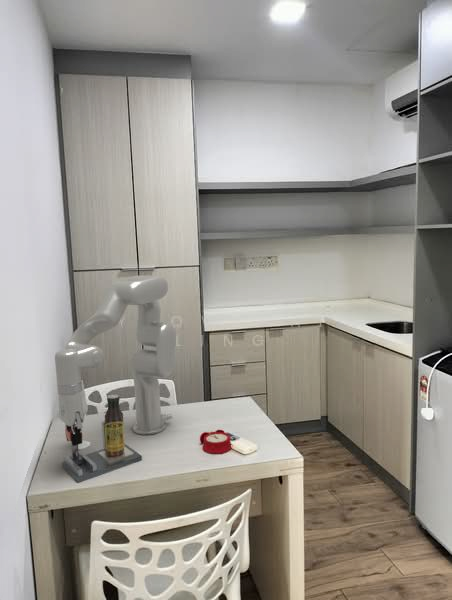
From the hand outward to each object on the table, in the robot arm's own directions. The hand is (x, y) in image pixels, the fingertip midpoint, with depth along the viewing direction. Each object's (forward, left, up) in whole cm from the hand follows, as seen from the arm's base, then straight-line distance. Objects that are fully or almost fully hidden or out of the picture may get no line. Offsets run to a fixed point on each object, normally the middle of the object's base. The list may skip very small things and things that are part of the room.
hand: (74, 441), depth 153 cm
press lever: (0, 0, -7) cm, 7 cm away
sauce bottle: (-13, +3, -7) cm, 15 cm away
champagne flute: (-8, -16, -9) cm, 19 cm away
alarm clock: (-43, +19, -9) cm, 48 cm away
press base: (-8, +4, -9) cm, 12 cm away
